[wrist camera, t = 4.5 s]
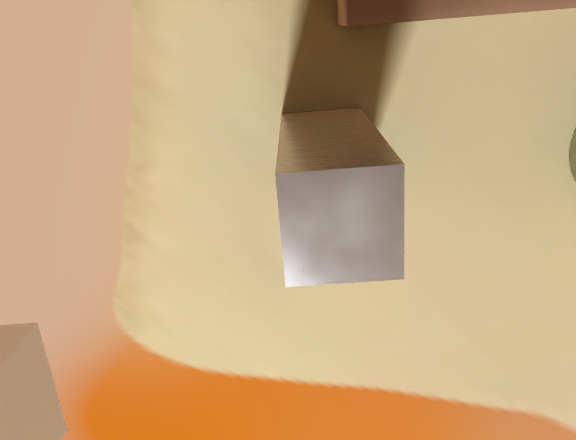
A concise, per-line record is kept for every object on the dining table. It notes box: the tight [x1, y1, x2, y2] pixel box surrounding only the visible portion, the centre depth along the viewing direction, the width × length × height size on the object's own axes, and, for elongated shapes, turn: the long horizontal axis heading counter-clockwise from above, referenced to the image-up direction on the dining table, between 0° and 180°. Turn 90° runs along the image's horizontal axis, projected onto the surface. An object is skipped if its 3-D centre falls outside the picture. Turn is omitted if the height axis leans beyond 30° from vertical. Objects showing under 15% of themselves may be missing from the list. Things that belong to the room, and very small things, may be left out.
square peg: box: [275, 108, 404, 287], centre depth 22 cm, size 4×4×11 cm
